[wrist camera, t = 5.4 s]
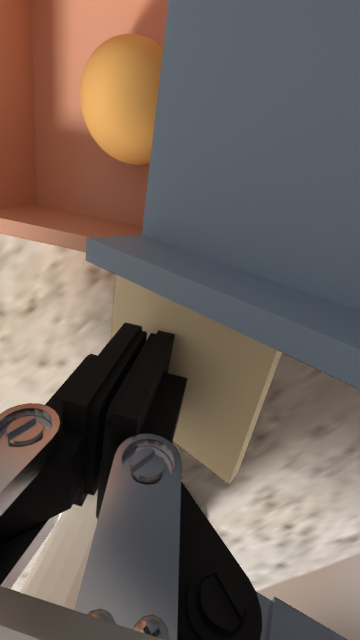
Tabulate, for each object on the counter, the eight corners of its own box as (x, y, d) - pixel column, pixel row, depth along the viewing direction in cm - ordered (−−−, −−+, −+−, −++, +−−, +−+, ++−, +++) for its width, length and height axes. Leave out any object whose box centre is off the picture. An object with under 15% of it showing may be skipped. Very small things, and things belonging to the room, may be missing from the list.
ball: (55, 149, 12) (122, 163, 15) (141, 165, 10) (194, 176, 13) (54, 10, 10) (131, 60, 13) (157, 4, 8) (214, 62, 12)
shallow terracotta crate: (223, 253, 16) (218, 280, 11) (33, 213, 17) (-43, 224, 12) (289, -28, 11) (324, -170, 7) (24, -61, 12) (-102, -207, 8)
